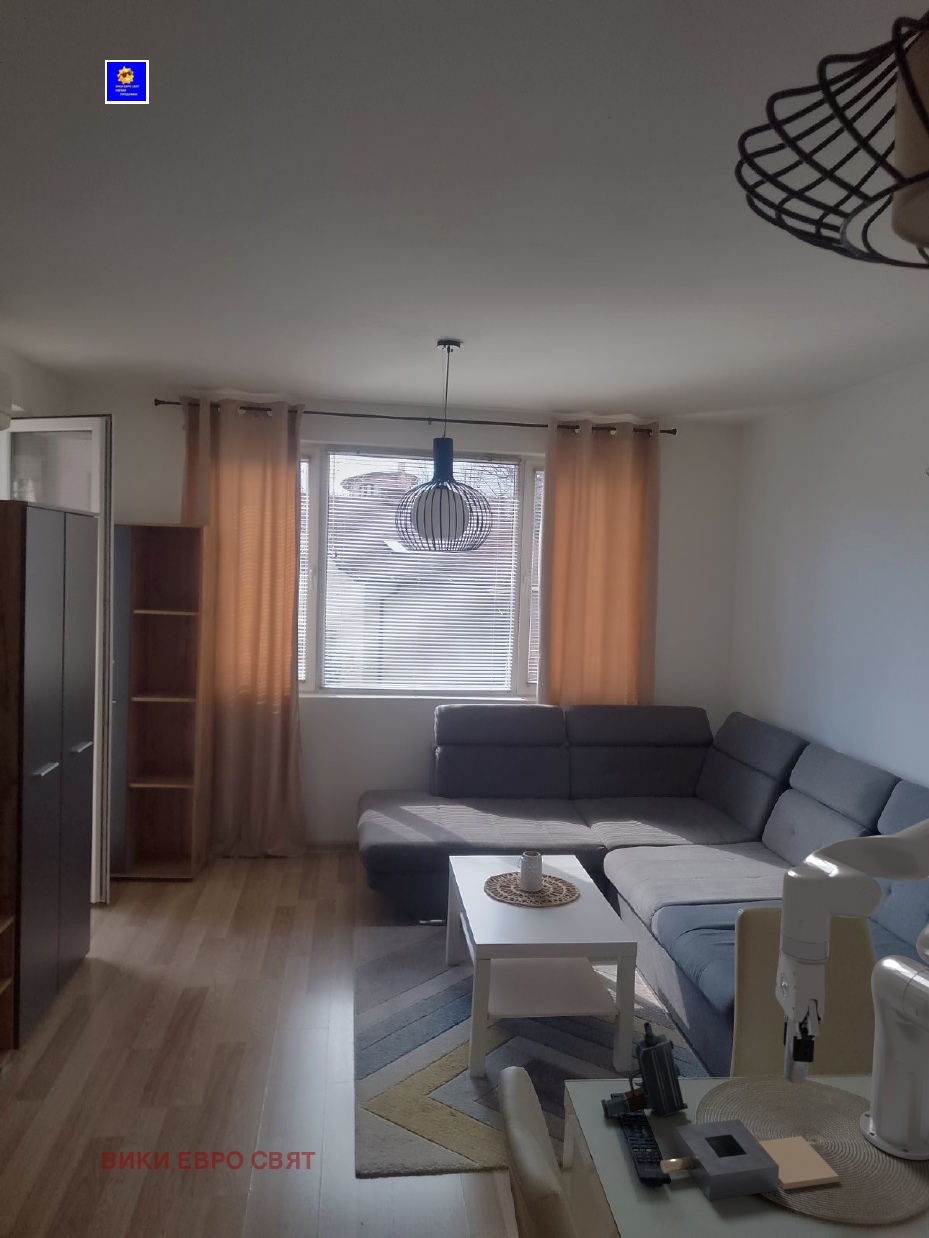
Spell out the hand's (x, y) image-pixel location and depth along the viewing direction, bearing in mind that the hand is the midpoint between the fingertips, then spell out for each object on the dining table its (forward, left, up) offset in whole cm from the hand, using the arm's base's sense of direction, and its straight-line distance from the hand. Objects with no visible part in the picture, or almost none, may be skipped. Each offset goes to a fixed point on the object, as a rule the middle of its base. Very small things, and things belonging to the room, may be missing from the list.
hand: (797, 1052), depth 142 cm
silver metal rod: (0, 0, -4) cm, 4 cm away
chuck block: (+14, -1, -19) cm, 24 cm away
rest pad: (0, 0, -19) cm, 19 cm away
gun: (+19, -17, -20) cm, 32 cm away
